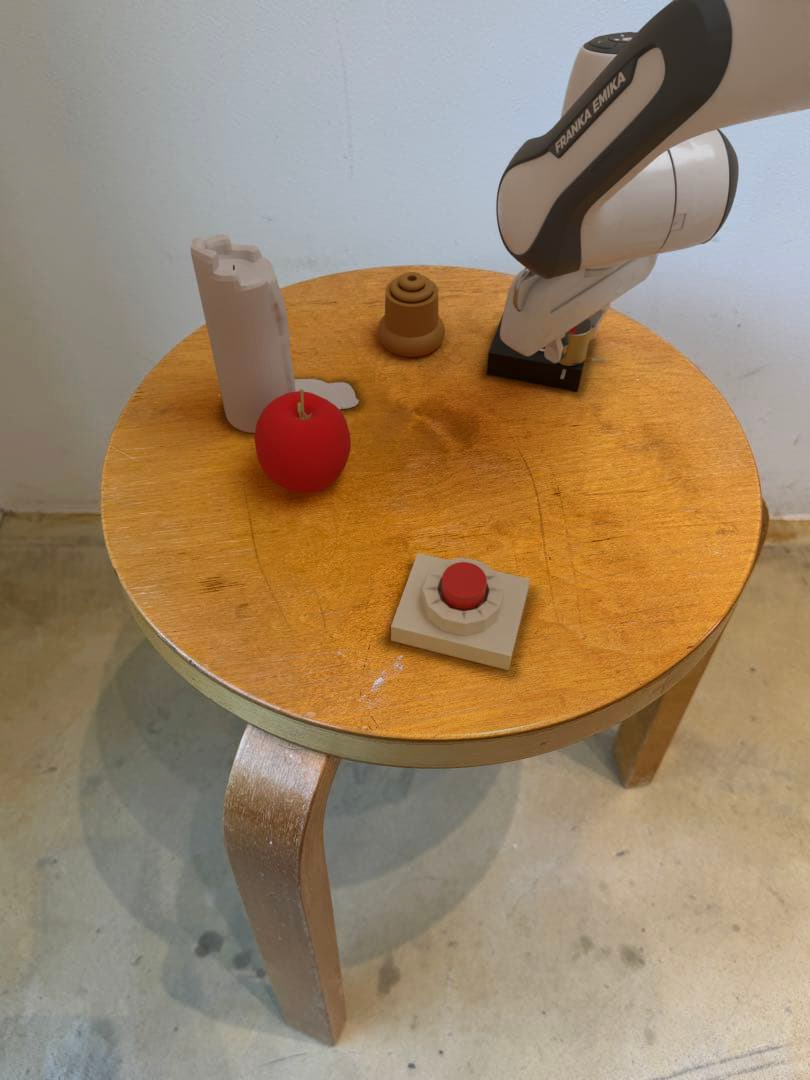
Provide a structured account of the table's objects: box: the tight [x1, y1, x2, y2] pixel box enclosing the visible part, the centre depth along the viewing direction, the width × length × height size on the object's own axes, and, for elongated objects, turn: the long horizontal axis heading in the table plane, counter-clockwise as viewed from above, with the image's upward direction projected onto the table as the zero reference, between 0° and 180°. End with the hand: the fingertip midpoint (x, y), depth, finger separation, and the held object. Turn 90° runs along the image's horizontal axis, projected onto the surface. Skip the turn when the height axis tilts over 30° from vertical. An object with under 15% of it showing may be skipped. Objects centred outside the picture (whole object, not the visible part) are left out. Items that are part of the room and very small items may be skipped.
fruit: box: [254, 389, 352, 494], centre depth 79 cm, size 9×9×10 cm
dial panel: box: [485, 313, 606, 393], centre depth 92 cm, size 12×11×3 cm
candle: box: [190, 233, 360, 434], centre depth 81 cm, size 7×14×20 cm, turn 105°
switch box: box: [390, 552, 531, 671], centre depth 71 cm, size 10×8×4 cm
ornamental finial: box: [377, 271, 446, 358], centre depth 93 cm, size 8×8×8 cm
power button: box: [441, 562, 487, 610], centre depth 69 cm, size 4×4×2 cm
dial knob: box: [557, 319, 592, 366], centre depth 88 cm, size 4×4×4 cm
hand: (570, 347), depth 89 cm, fingers closed on dial knob, 3 cm apart
